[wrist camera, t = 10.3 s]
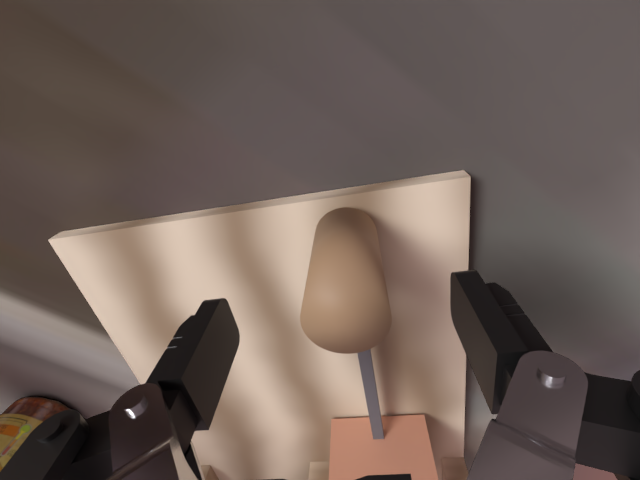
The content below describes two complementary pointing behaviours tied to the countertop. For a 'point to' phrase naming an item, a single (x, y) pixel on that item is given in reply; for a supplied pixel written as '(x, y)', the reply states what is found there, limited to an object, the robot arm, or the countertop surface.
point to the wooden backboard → (291, 318)
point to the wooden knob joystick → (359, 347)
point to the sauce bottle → (23, 422)
